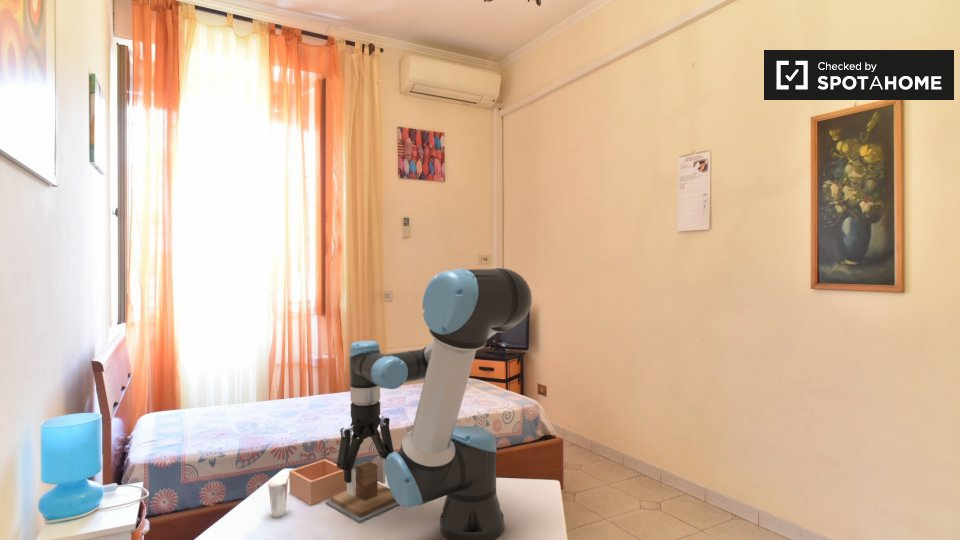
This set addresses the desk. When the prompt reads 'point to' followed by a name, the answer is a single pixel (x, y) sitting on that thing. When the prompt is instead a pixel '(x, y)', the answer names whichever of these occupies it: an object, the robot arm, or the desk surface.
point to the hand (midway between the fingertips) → (366, 487)
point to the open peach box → (317, 481)
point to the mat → (357, 516)
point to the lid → (365, 492)
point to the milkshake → (278, 495)
